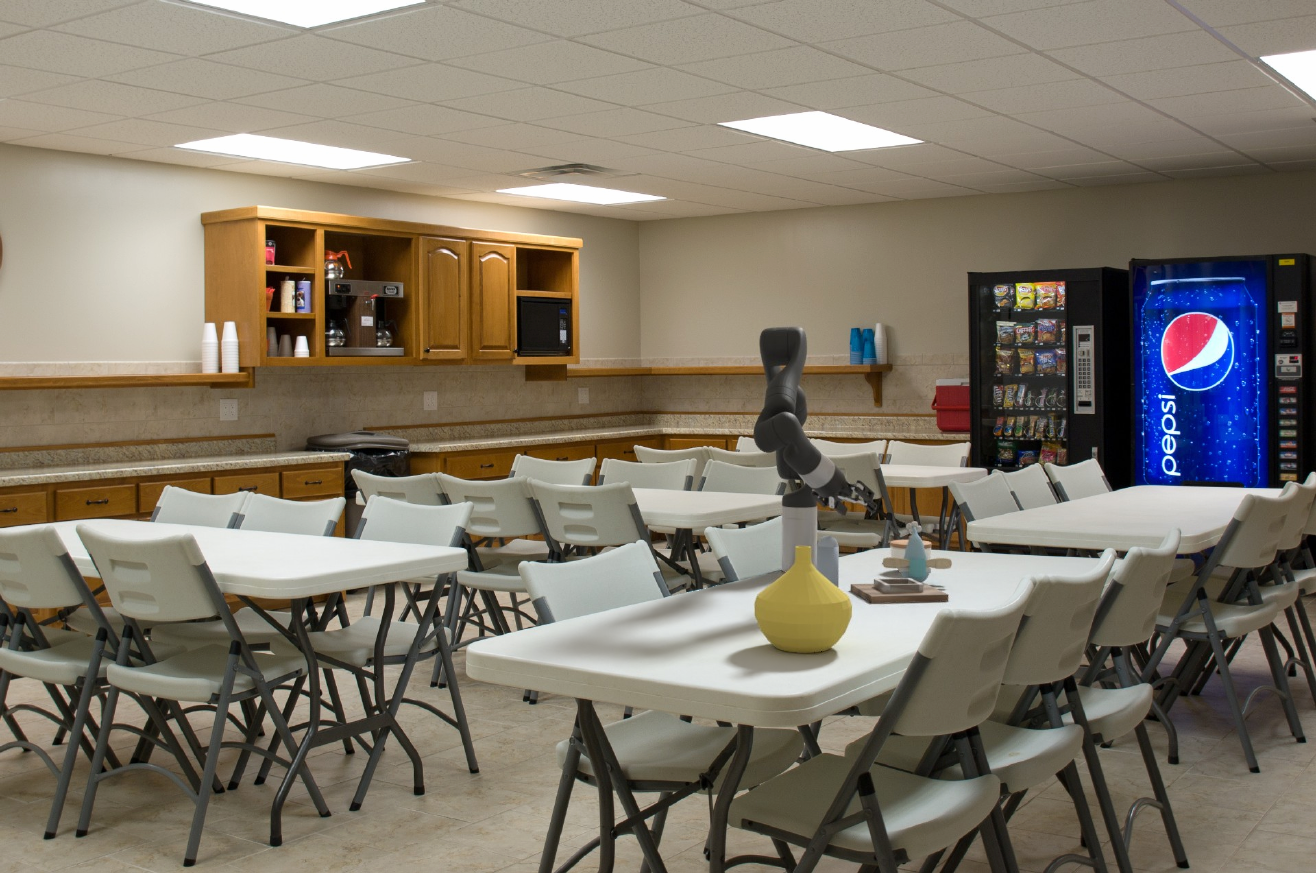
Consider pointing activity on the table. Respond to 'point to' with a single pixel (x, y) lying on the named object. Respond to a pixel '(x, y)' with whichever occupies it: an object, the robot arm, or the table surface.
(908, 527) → the teal toy airplane
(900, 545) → the lidded jar
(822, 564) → the grey rounded-top cylinder
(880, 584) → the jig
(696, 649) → the table surface
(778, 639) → the vase
